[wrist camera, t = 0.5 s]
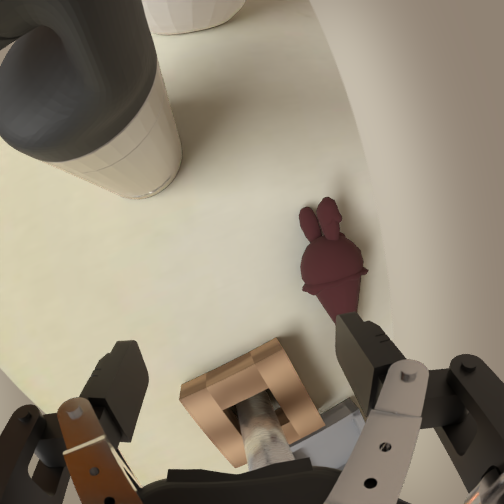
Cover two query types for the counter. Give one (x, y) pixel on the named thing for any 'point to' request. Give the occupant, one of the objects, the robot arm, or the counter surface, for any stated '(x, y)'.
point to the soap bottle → (188, 14)
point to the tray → (332, 437)
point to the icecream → (330, 260)
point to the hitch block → (243, 387)
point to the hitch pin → (262, 432)
